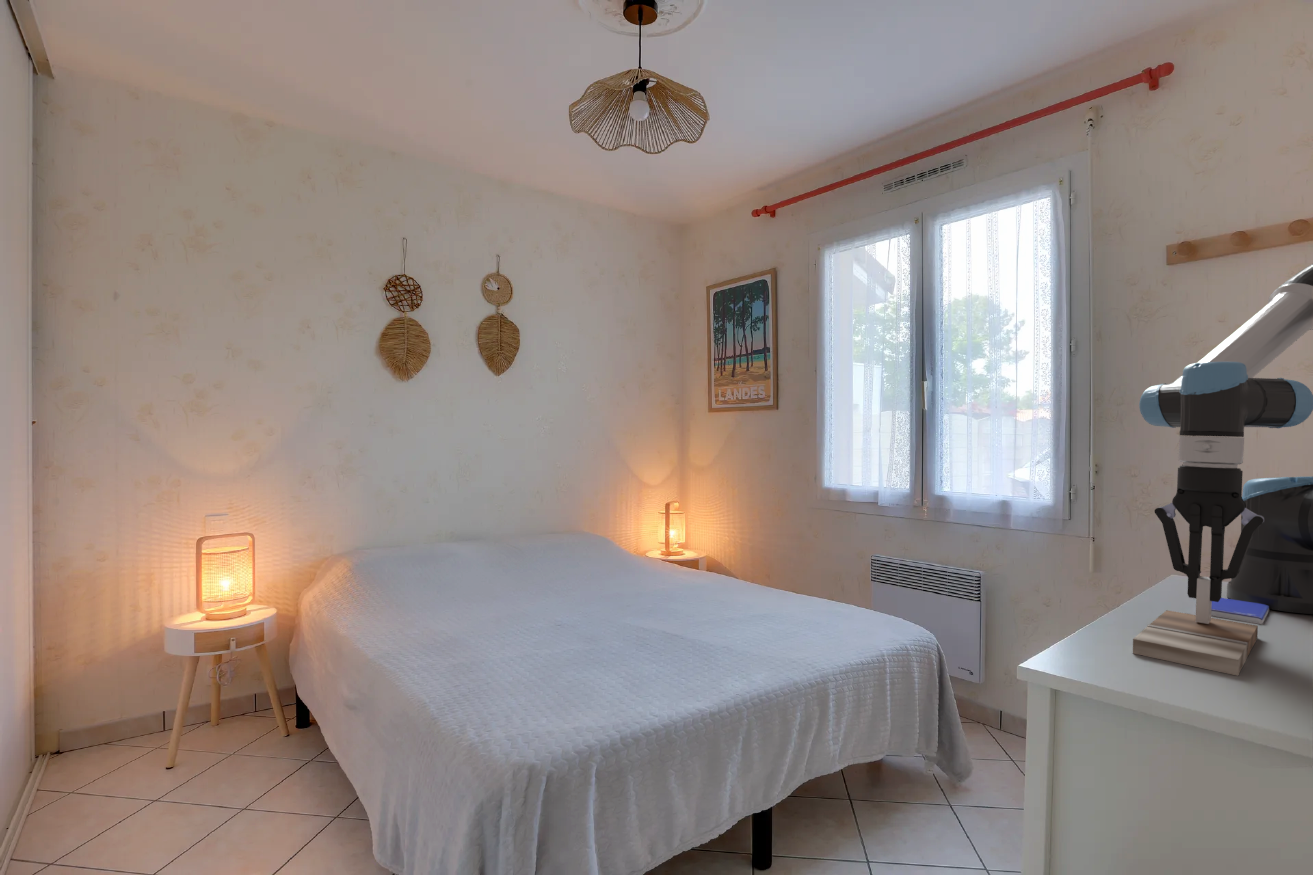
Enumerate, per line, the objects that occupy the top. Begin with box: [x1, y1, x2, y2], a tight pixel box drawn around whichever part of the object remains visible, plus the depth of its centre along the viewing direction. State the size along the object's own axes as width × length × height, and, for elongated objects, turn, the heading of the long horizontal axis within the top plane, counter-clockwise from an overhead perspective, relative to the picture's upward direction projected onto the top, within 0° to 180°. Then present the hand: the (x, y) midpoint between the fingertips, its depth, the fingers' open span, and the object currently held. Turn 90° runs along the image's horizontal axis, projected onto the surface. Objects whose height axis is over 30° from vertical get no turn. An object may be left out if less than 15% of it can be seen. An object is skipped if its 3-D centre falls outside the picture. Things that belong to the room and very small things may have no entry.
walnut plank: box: [1149, 609, 1259, 658], centre depth 100 cm, size 13×11×2 cm
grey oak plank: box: [1132, 623, 1248, 677], centre depth 91 cm, size 10×11×2 cm
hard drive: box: [1211, 597, 1270, 625], centre depth 115 cm, size 2×8×12 cm
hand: (1203, 620), depth 101 cm, fingers closed
